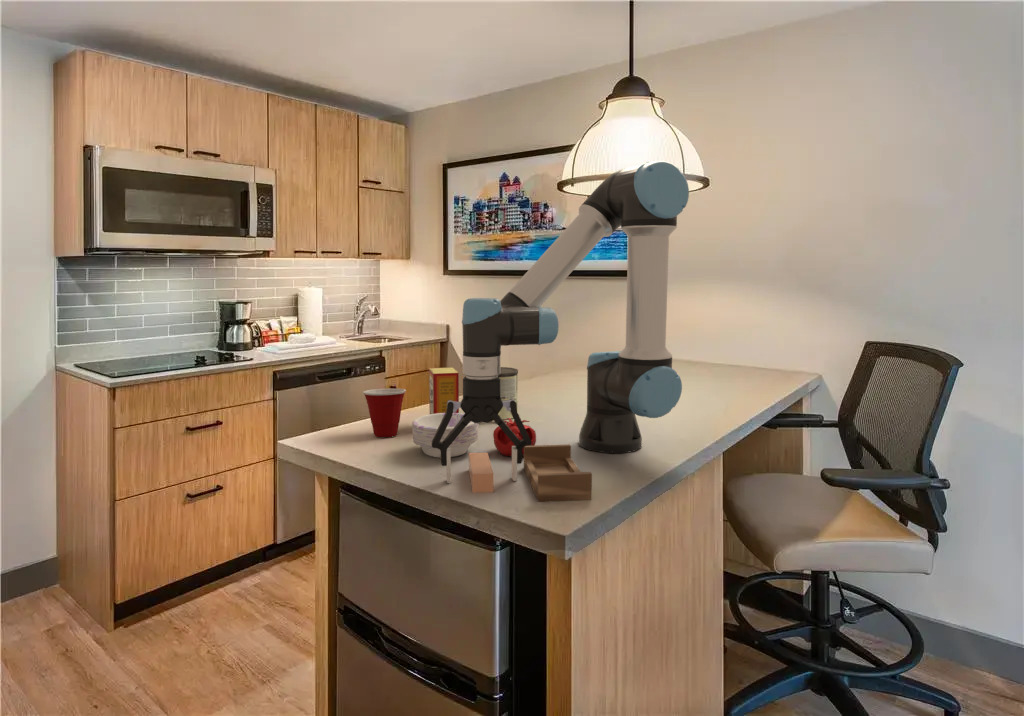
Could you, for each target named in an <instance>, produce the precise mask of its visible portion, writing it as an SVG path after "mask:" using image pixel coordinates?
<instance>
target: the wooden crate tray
mask: <svg viewBox="0 0 1024 716" xmlns="http://www.w3.org/2000/svg"><path fill="white" fill-rule="evenodd" d="M571 450H572V445H571V444H544V445H543V444H542V445H541V444H540V445H539V444H537V445H536V444H535V446H525V447H524V455H523V469H524V472H525V474H526V476H527V479H528V481H529V483H530V485H531V488H532V490H533V492H534V494H535V497H536V499H537V501H538V502H539V503H540V502H542V503H544V502H568V501H587V500H588V501H589V500H590V501H591V500H592V490H593V489H592V487H593V485H592V484H593V483H592V482H593V481H592V480H593V474H592V472H591V471H584V472H583V471H581V470H580V468H578V466H577V464H576V463H575V461H574V460H573V459H572V456H571V453H572V451H571Z"/></svg>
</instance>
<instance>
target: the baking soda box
mask: <svg viewBox="0 0 1024 716" xmlns="http://www.w3.org/2000/svg"><path fill="white" fill-rule="evenodd" d="M428 387H429V388H428V389H429V390H428V391H429V392H428V393H429V395H428V396H429V403H428V404H429V405H428V406H429V415H430V414H437V413H446V410H447V402H448V400H452V401H456V402H460V401H459V400H460V398H459V397H460V396H459V391H460V390H459V372H458V371H457V370H456V369H455V368H454V367H428ZM453 413H460V408H458V409H457V411H456V412H453Z"/></svg>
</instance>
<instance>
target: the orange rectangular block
mask: <svg viewBox="0 0 1024 716" xmlns="http://www.w3.org/2000/svg"><path fill="white" fill-rule="evenodd" d="M468 471H469V474H468V475H469V479H470V484H471V485H472V486H471V491H472V494H473V493H474V494H475V493H494V470H493V466H492V464H491V460H490V457H489V453H488V452H468Z"/></svg>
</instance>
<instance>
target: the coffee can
mask: <svg viewBox="0 0 1024 716" xmlns="http://www.w3.org/2000/svg"><path fill="white" fill-rule="evenodd" d="M500 371H501V373H500V374H499V375H498V377H499V378H500V379H501V392H500V397H501V401H508V400H510V399H514V400H515V402H516V406H517V407H518V393H519V392H518V381H519V379H518V374H519V369H518V368H514V367H506V366H500ZM498 415H499V416H500V417H501V418H502V420H503V421H507V422H510V421H509V419H507V418H510V419H511V420H512V421H513V422H514V418H513V416H512V414H511V412H510V411H507V409H506V408H505V407H502V409H501V410H500V412H499V413H498ZM506 419H507V420H506ZM490 423H496V422H495V421H494V420H493V421H491V422H490Z"/></svg>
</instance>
